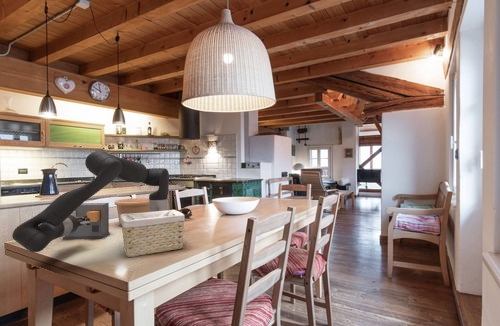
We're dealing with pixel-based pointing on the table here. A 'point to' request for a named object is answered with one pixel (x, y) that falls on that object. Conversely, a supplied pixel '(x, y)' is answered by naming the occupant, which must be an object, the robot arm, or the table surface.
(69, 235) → the switch box
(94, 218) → the orange paddle
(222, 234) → the table surface
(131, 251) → the storage basket
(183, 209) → the pottery mug
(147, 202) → the pottery
